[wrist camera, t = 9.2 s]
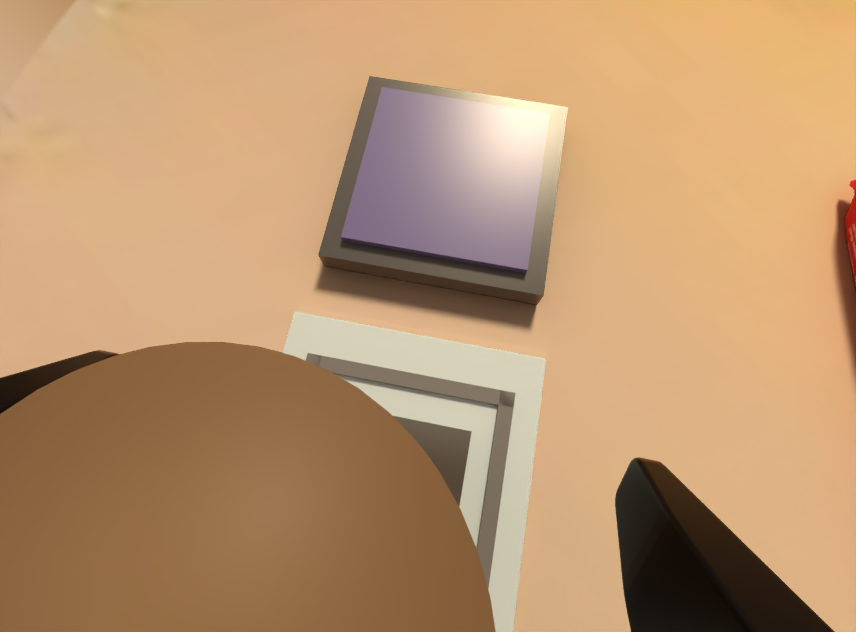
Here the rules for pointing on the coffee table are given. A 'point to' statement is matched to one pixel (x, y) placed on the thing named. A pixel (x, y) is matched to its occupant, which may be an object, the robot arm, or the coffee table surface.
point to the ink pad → (448, 190)
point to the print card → (451, 422)
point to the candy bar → (851, 231)
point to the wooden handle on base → (230, 503)
